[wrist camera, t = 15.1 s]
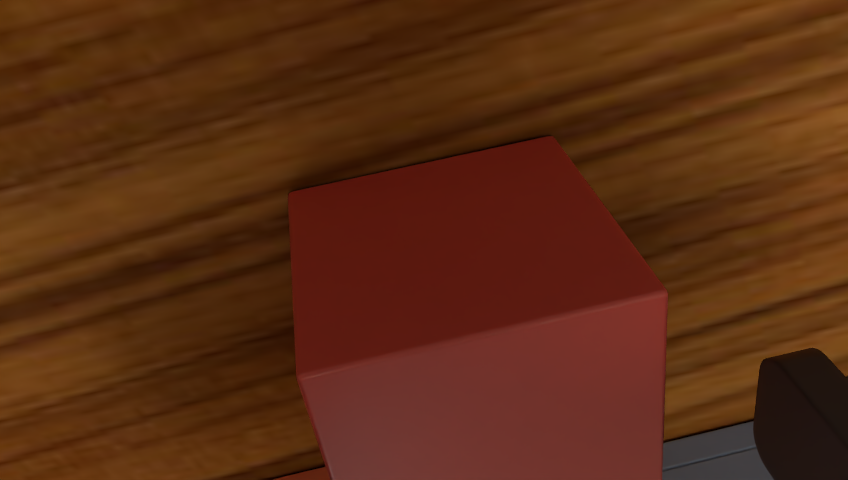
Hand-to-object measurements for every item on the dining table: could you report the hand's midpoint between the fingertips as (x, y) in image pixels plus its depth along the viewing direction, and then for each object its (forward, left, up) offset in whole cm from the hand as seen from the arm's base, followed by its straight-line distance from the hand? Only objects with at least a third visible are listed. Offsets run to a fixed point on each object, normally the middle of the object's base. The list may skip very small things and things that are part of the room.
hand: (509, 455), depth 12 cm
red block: (0, 0, -5) cm, 5 cm away
